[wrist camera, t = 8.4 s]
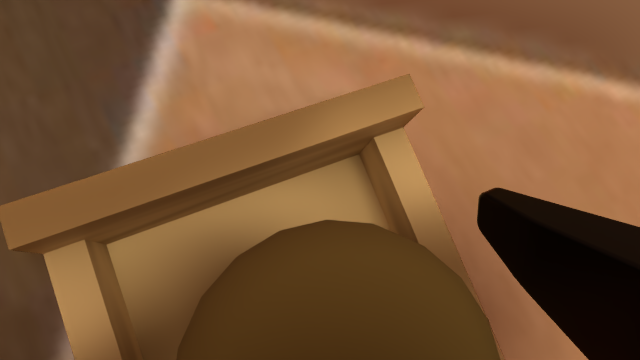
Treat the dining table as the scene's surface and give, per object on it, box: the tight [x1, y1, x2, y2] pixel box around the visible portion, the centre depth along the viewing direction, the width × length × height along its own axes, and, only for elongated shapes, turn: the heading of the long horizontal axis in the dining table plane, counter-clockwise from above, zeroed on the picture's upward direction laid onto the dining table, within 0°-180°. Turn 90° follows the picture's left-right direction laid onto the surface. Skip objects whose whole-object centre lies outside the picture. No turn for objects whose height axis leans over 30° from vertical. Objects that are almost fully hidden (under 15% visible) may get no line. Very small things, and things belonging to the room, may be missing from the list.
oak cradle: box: [0, 74, 505, 360], centre depth 15 cm, size 12×12×5 cm
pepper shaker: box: [176, 220, 501, 360], centre depth 11 cm, size 6×6×11 cm
